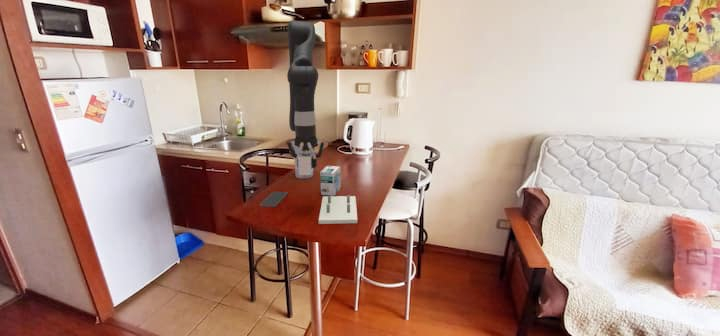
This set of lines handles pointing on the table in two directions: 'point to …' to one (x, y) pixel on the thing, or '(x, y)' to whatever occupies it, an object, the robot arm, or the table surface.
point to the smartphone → (274, 199)
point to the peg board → (338, 210)
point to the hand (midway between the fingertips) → (307, 167)
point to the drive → (305, 163)
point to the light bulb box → (330, 180)
